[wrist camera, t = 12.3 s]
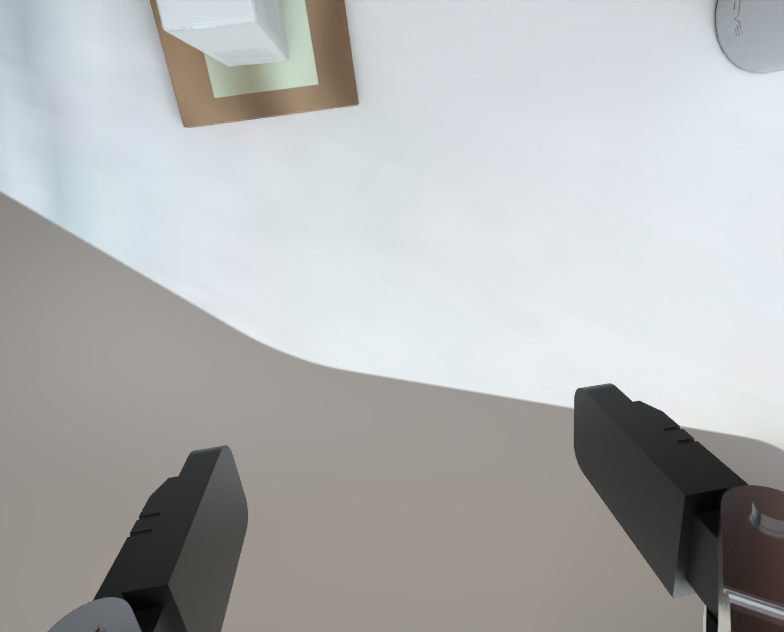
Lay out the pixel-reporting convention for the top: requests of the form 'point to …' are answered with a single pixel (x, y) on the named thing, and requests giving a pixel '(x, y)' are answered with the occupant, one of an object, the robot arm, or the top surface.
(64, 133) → the top surface
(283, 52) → the skincare box
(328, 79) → the plate
